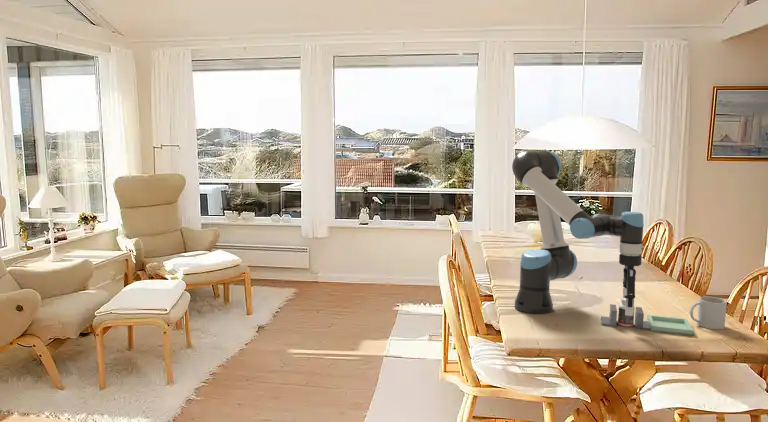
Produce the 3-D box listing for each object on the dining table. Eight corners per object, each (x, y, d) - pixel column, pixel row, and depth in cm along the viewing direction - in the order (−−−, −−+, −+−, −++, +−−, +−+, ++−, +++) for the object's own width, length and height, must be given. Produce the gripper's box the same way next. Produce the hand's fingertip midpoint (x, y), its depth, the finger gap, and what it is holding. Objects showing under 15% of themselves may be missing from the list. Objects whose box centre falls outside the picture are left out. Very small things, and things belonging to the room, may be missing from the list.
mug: (726, 325, 208) (729, 299, 207) (721, 331, 201) (723, 305, 200) (694, 318, 215) (696, 293, 214) (688, 324, 208) (690, 299, 207)
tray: (651, 331, 201) (651, 325, 201) (647, 319, 214) (647, 314, 213) (693, 335, 197) (693, 330, 197) (686, 323, 209) (686, 318, 209)
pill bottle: (614, 322, 211) (616, 297, 209) (628, 321, 211) (630, 296, 210) (622, 327, 205) (624, 301, 204) (636, 326, 206) (638, 301, 205)
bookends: (601, 325, 207) (602, 309, 206) (600, 318, 215) (601, 303, 214) (651, 330, 202) (653, 314, 201) (649, 323, 209) (650, 308, 208)
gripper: (645, 261, 192) (642, 321, 194) (638, 248, 215) (635, 301, 218) (622, 260, 194) (619, 319, 197) (617, 247, 217) (614, 300, 220)
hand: (627, 310), depth 207 cm, fingers open, 13 cm apart
